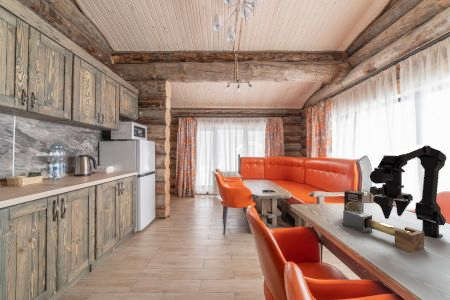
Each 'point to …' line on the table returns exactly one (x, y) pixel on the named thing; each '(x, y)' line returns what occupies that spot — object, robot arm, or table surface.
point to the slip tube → (382, 227)
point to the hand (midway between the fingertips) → (392, 217)
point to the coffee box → (354, 200)
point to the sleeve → (356, 220)
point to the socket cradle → (409, 239)
